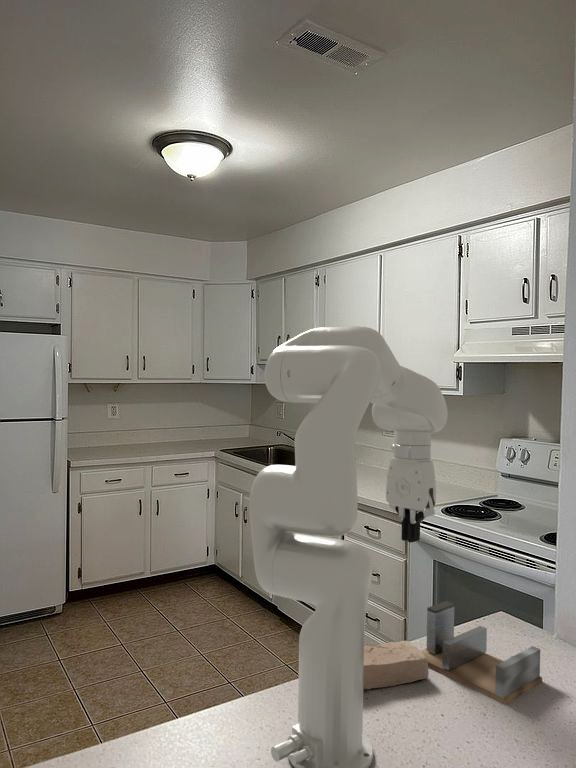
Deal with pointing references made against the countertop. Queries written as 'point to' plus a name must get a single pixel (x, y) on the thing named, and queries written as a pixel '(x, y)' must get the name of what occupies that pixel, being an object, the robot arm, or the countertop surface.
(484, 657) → the vise base
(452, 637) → the free jaw
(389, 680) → the brick
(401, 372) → the robot arm
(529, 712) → the countertop surface
